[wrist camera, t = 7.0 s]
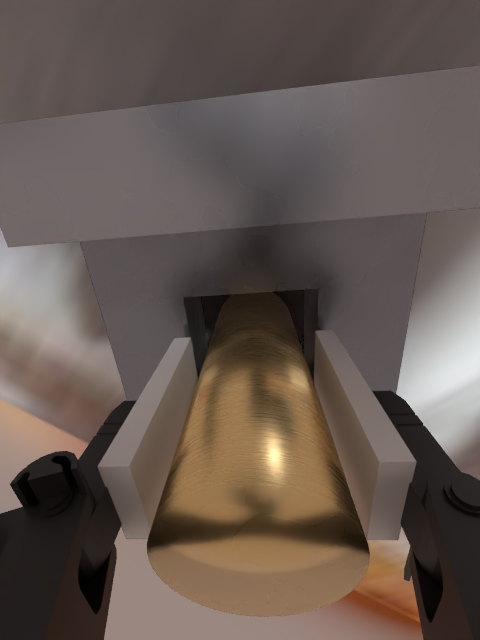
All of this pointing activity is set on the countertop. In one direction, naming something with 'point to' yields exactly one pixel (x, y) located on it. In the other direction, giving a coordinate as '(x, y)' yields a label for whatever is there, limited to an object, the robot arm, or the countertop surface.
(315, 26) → the countertop surface
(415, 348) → the countertop surface
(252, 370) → the brass cylinder
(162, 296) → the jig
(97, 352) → the countertop surface
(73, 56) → the countertop surface
